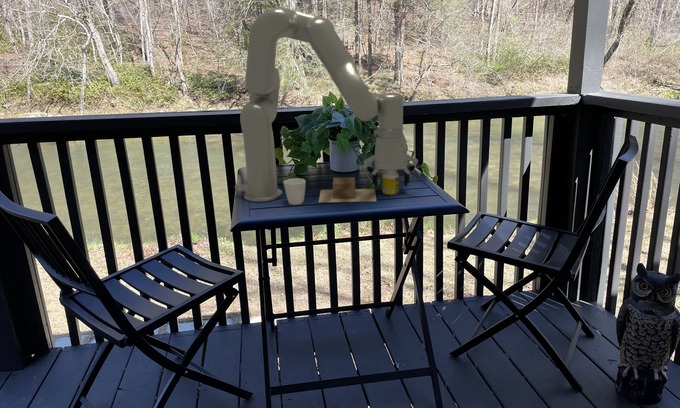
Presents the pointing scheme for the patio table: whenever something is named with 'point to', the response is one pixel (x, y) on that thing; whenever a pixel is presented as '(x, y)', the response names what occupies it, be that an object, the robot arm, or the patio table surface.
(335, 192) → the block
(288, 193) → the cup
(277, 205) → the patio table surface
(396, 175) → the supplement bottle
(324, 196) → the board
